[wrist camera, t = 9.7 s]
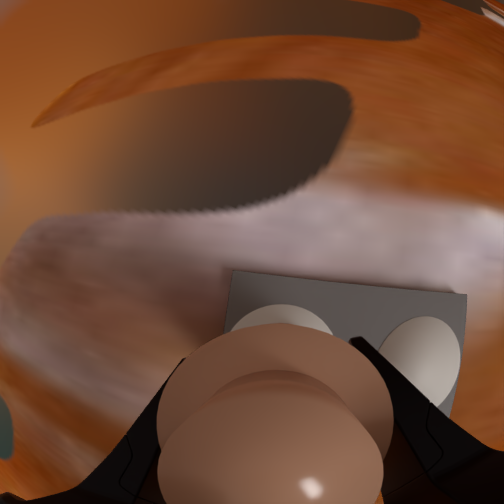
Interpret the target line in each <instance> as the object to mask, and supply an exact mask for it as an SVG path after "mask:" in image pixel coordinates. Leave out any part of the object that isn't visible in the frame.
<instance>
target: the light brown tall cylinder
mask: <svg viewBox="0 0 504 504" xmlns="http://www.w3.org/2000/svg"><path fill="white" fill-rule="evenodd" d="M393 421H394V418H393V406H392V402H391V398H390V394H389V391H388V389H387V387H386V384H385V382H384V380H383V378H382V377H381V375H380V374H379V372H378V370H377V369H376V368H375V367H374V365H373V364H372V363H371V362H370V361H369V360H368V358H366V357H365V356H364V355H363V354H362V353H361V352H359V351H358V350H357V349H356V348H355V347H353V346H351V345H350V344H348V343H347V342H345V341H344V340H342V339H340V338H337V337H335V336H333V335H331V334H329V333H326V332H323V331H320V330H317V329H313V328H309V327H304V326H299V325H293V324H288V323H272V324H263V325H257V326H251V327H245V328H241V329H238V330H235V331H231V332H228V333H226V334H223V335H221V336H219V337H217V338H214V339H212V340H211V341H209V342H207V343H206V344H204V345H202V346H201V347H199V348H198V349H196V350H195V351H194V352H193V353H191V354H190V355H189V356H188V357H187V358H186V359H185V360H184V361H183V362H182V363H181V364H180V365H179V366H178V367H177V368H176V370H175V371H174V373H173V374H172V376H171V377H170V378H169V380H168V382H167V384H166V386H165V388H164V390H163V393H162V396H161V399H160V402H159V406H158V412H157V434H158V441H159V445H160V448H161V454H160V457H159V462H158V482H159V486H160V490H161V493H162V495H163V498H164V500H165V502H166V503H167V504H374V503H375V501H376V499H377V497H378V495H379V492H380V489H381V486H382V481H383V460H384V458H385V456H386V453H387V451H388V448H389V446H390V442H391V438H392V433H393Z"/></svg>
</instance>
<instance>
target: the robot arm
mask: <svg viewBox="0 0 504 504" xmlns="http://www.w3.org/2000/svg"><path fill="white" fill-rule="evenodd" d="M348 344H350V345H351V346H353V347H355V348H356V349H357V350H358V351H359V352H361V353H362V354H363V355H364V356H365V357H366V358H368V360H369V361H370V362H371V363H372V364H373V365H374V367H375V368H376V369H377V370H378V372H379V374H380V375H381V377H382V378H383V380H384V382H385V384H386V387H387V389H388V391H389V394H390V398H391V402H392V406H393V418H394V421H393V433H392V438H391V442H390V446H389V448H388V451H387V453H386V456H385V458H384V460H383V481H382V486H381V493H382V497H383V501H384V504H504V451H499V450H495V449H492V448H490V447H488V446H486V445H484V444H483V443H481V442H480V441H479V440H477V439H476V438H475V437H473V436H472V435H470V434H469V433H468V432H466V431H465V430H464V429H462V428H461V427H460V426H458V425H457V424H456V423H454V422H453V421H452V420H451V419H449V418H448V417H447V416H446V415H445V414H444V413H443V412H442V411H441V410H439V409H438V408H437V407H436V406H435V405H434V404H433V403H432V402H430V400H429V399H428V398H427V397H426V396H425V395H424V394H423V393H422V392H421V391H419V390H418V389H417V388H416V387H415V386H414V385H413V384H412V383H411V382H410V381H409V380H408V379H407V378H406V377H405V376H404V375H403V374H402V373H401V372H400V371H398V370H397V369H396V368H395V367H394V366H393V365H392V364H391V363H390V362H389V361H388V360H387V359H386V358H385V357H384V356H383V355H381V354H380V353H379V352H378V351H377V350H376V349H375V348H374V347H373V346H372V345H371V344H370V343H369V342H368V341H367V340H365V339H364V338H363V337H362V336H357V337H352V338H350V339H349V342H348ZM185 359H186V358H183V359H182V360H181V361H180V363H179V364H178V365H177V367H178V366H179V365H180V364H181V363H182V362H183V361H184V360H185ZM177 367H176V368H177ZM176 368H175V369H174V371H175V370H176ZM174 371H173V372H172V373H171V375H170V376H169V377H168V379H167V380H166V381H165V383H164V384H163V385H162V387H161V388H160V389H159V391H158V392H157V393H156V395H155V396H154V397H153V399H152V400H151V401H150V403H149V404H148V405H147V406H146V408H145V409H144V410H143V412H142V413H141V414H140V416H139V417H138V418H137V420H136V421H135V422H134V424H133V425H132V426H131V428H130V429H129V430H128V432H127V433H126V434H127V435H124V437H123V438H122V439H121V441H120V442H119V443H118V444H117V446H116V447H115V448H114V449H113V451H112V452H111V453H110V454H109V455H108V456H107V457H106V458H105V459H104V461H103V462H102V463H101V464H100V465H99V466H98V467H97V468H96V469H95V470H94V471H93V472H92V473H91V474H90V475H89V476H88V477H87V478H86V479H85V480H84V481H83V482H82V483H80V484H79V485H78V486H76V487H74V488H73V489H70V490H68V491H64V492H61V493H57V494H54V495H50V496H46V497H42V498H38V499H33V500H27V501H26V500H24V499H22V498H20V497H18V496H16V495H14V494H12V493H9V492H5V493H3V494H0V504H167V503H166V502H165V500H164V498H163V495H162V493H161V490H160V486H159V482H158V462H159V457H160V454H161V448H160V445H159V441H158V434H157V412H158V406H159V402H160V399H161V396H162V393H163V390H164V388H165V386H166V384H167V382H168V380H169V378H170V377H171V376H172V374H173V373H174Z"/></svg>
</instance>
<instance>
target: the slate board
mask: <svg viewBox="0 0 504 504" xmlns="http://www.w3.org/2000/svg"><path fill="white" fill-rule="evenodd" d="M466 310H467V294H456V293H444V292H432V291H420V290H409V289H398V288H388V287H377V286H367V285H357V284H348V283H338V282H329V281H320V280H311V279H302V278H293V277H285V276H276V275H268V274H260V273H252V272H244V271H236V270H233V273H232V279H231V286H230V292H229V299H228V305H227V312H226V319H225V326H224V332H223V334H226V333H228V332H231V331H235V330H238V329H241V328H245V327H251V326H257V325H263V324H272V323H288V324H293V325H299V326H304V327H309V328H313V329H317V330H320V331H323V332H326V333H329V334H331V335H333V336H335V337H337V338H340V339H342V340H344V341H345V342H347V343H348V342H349V339H350V338H352V337H357V336H362V337H363V338H364V339H365V340H367V341H368V342H369V343H370V344H371V345H372V346H373V347H374V348H375V349H376V350H377V351H378V352H379V353H380V354H381V355H383V356H384V357H385V358H386V359H387V360H388V361H389V362H390V363H391V364H392V365H393V366H394V367H395V368H396V369H397V370H398V371H400V372H401V373H402V374H403V375H404V376H405V377H406V378H407V379H408V380H409V381H410V382H411V383H412V384H413V385H414V386H415V387H416V388H417V389H418V390H419V391H421V392H422V393H423V394H424V395H425V396H426V397H427V398H428V399H429V400H430V402H432V403H433V404H434V405H435V406H436V407H437V408H438V409H439V410H441V411H442V412H443V413H444V414H445V415H446V416H447V417H448V418H449V416H450V412H451V408H452V404H453V400H454V396H455V391H456V386H457V381H458V376H459V371H460V365H461V358H462V351H463V344H464V335H465V324H466Z"/></svg>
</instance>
